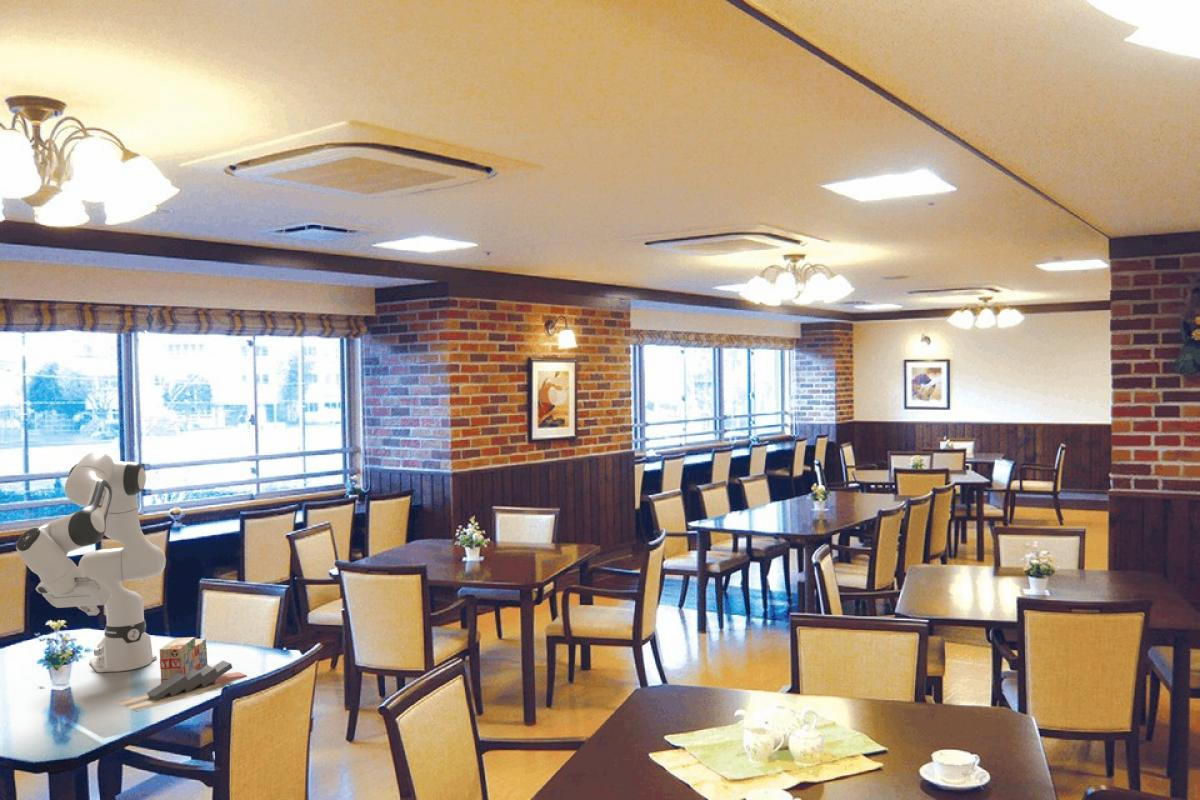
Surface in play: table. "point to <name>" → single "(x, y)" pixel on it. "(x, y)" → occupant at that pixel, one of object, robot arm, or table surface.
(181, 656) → the stack of blocks
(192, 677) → the domino
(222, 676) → the domino
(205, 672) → the domino
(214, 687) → the domino board
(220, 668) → the domino
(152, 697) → the domino
